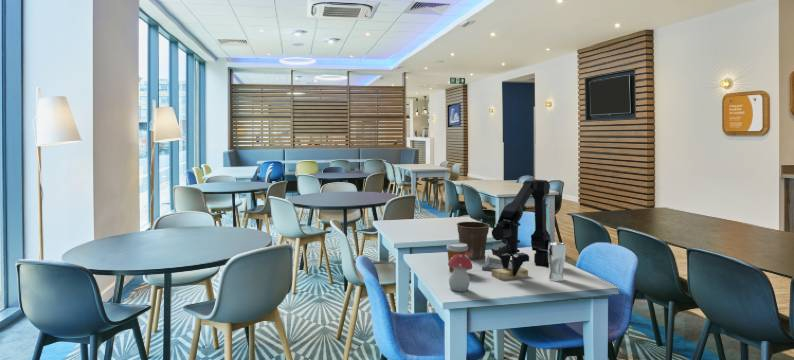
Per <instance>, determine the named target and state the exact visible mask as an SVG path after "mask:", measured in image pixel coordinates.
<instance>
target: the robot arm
mask: <svg viewBox="0 0 794 360" xmlns="http://www.w3.org/2000/svg"><path fill="white" fill-rule="evenodd" d="M550 188H551V184H550V182H549V181H548V180H547V179H546V180H545V179H535V178H534V179H532V180H528V179H526V180H524V181H523V183H522V187H520V189H519V191H518V192H517V194H516V196H515V197H514V198H513V200H512V202H509V203H507V204H506V205H505V206H504V207H503V209H502V211H501V213H500V215H499V218H498V220H497V223H496V224H495V227H493V228H492V230H491V237H492V239H493V240H495V241H497V242H498V241H500V243H498V244H495V245H493V246H491V247H490V249H491V252H492V255H493V256H495V257H498V258H499V259H500V262H501V264H502V266H503V268H508V266H509V265H510V264H511V263H512V271H513V276H516V274H517V272H518V270H519V268H520V267H522V265H523V264H524V263H525V262H530V255H529V254H527V253H525V252H520V249H518V248H519V247H518V246H519V243H520V242H521V240H520V239H519V227H520V226H521V222H520V221H521V219H522V217H523V214H524V213H523V212H524V211H523V209H524V206H526V204H527V203H528V201H529V199H530V198H531V197H532V198H533V202H534V203H533V204H534V232H533V233H531V235H530V239H531V240H530V244H531V250H532V251H533V252H534V251H535V252H534V257H533V262H534V264H535V266H539V267H540V266H542V267H549V262H548V246H549V243H550V242H552V240H551V235H550V233H549V231H548V230H547V206H546V205H547V203H546V201H547V199H546V198H547V197H548V196H549V194H550ZM511 257H512V260H511Z"/></svg>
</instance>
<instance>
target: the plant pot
mask: <svg viewBox="0 0 794 360" xmlns="http://www.w3.org/2000/svg"><path fill="white" fill-rule="evenodd" d="M456 226H457V233H458V243H465V244H467V246H468V250H467V252H470V253H471V254H472V256H471V257H469V260H474V259H475V260H480V259H485V258H486V250H487V247H486V246H487V241H488V235H489V231H490V227H491V224H489V223H487V222H486V223H485V222H482V221H481V222H480V221H459V222H457V223H456Z"/></svg>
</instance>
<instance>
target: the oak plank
mask: <svg viewBox="0 0 794 360" xmlns="http://www.w3.org/2000/svg"><path fill="white" fill-rule="evenodd" d="M491 277H493V278H495V279H497V280H499V281H500V280H510V279H520V278H527V277H529V269H527V268H524V267H522V266H521V267H520V268H519V270H518V272H517V274H516V276H513V271H512V267H511V268H502V269H492V271H491Z"/></svg>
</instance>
